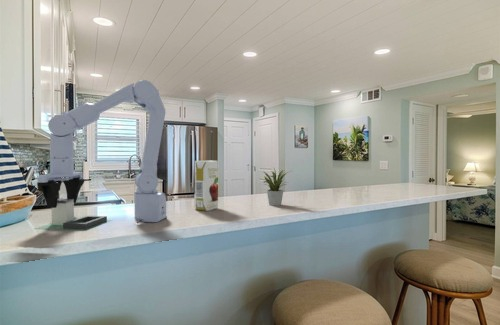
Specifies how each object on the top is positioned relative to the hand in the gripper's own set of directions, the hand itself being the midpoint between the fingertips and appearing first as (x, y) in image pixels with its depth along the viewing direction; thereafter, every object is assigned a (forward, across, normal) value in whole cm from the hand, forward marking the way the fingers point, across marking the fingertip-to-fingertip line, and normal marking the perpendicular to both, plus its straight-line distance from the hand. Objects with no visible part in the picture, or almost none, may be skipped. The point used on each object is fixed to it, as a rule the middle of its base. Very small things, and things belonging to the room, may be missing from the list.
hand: (62, 205), depth 82 cm
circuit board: (+6, 0, +4) cm, 8 cm away
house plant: (+6, -45, +63) cm, 77 cm away
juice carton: (+6, -32, +35) cm, 48 cm away
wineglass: (+7, -12, -7) cm, 15 cm away
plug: (+5, 0, 0) cm, 5 cm away
